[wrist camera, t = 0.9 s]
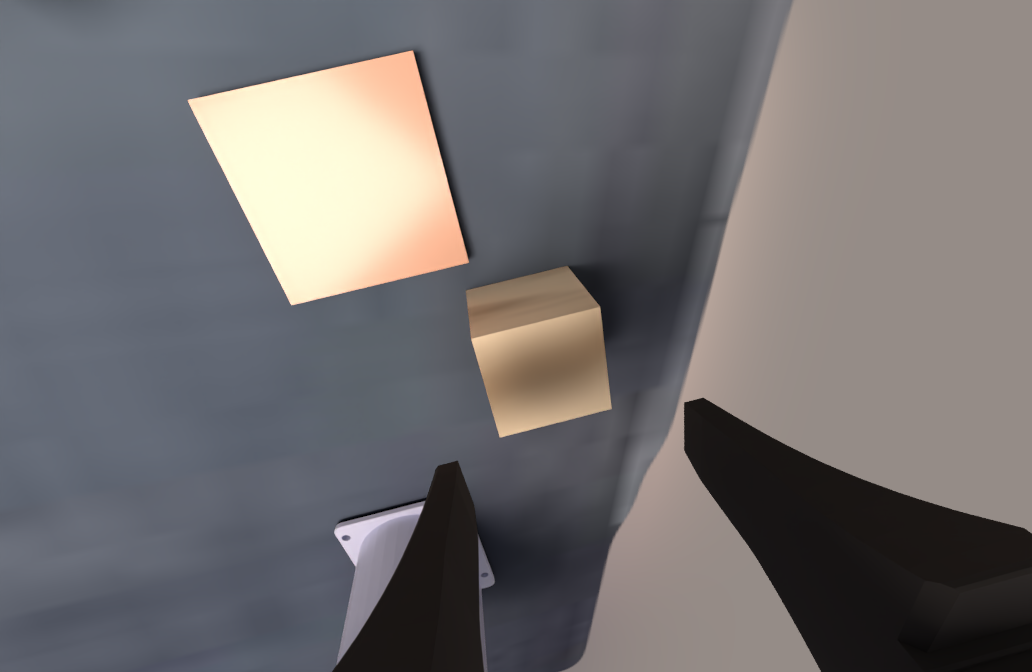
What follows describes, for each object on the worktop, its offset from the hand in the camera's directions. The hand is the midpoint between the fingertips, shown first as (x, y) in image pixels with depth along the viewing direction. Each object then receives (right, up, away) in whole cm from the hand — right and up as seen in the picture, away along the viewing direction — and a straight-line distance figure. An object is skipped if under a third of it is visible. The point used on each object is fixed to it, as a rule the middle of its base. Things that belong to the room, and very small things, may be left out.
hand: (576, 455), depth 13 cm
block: (-1, +4, +8) cm, 10 cm away
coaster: (-9, +10, +4) cm, 14 cm away
